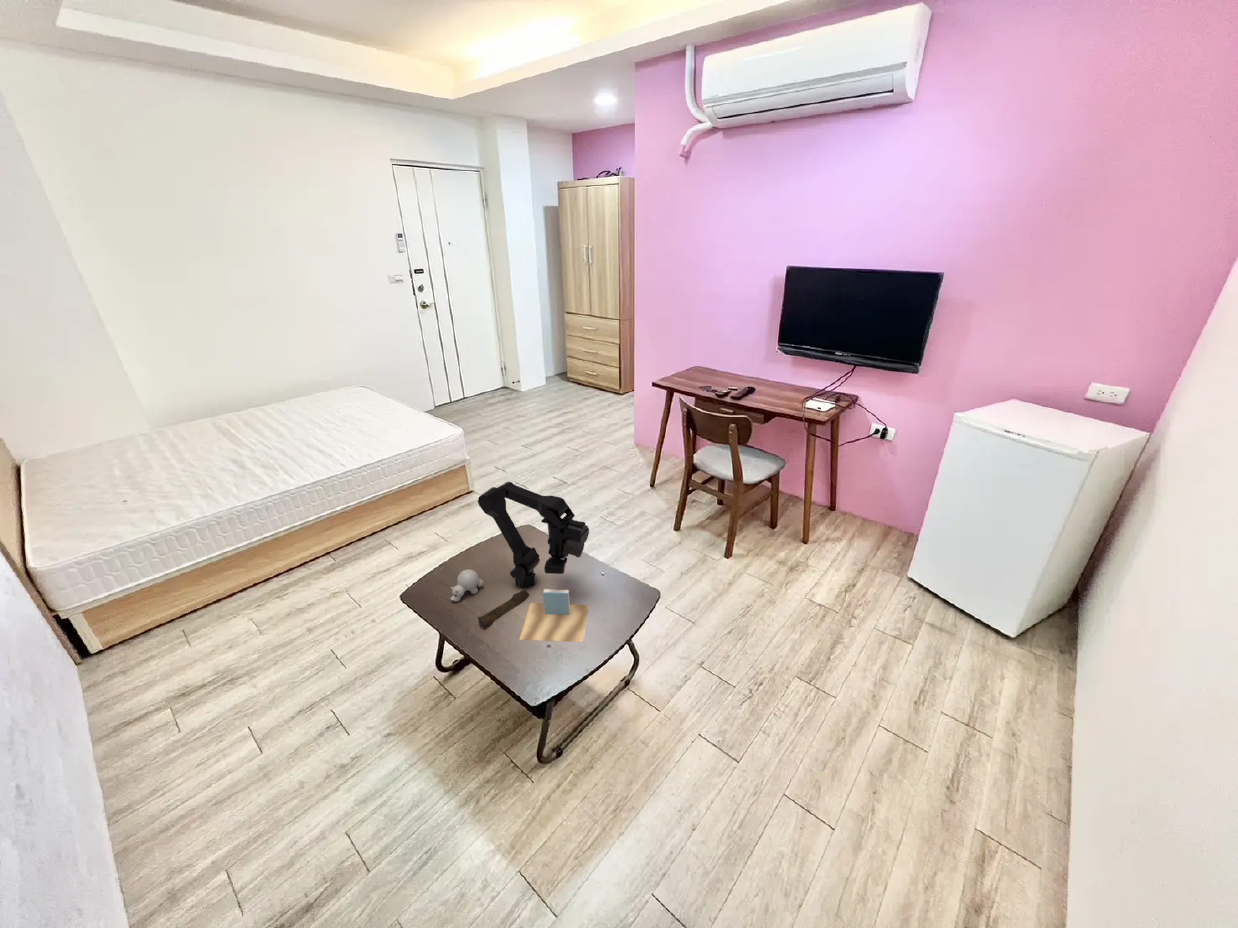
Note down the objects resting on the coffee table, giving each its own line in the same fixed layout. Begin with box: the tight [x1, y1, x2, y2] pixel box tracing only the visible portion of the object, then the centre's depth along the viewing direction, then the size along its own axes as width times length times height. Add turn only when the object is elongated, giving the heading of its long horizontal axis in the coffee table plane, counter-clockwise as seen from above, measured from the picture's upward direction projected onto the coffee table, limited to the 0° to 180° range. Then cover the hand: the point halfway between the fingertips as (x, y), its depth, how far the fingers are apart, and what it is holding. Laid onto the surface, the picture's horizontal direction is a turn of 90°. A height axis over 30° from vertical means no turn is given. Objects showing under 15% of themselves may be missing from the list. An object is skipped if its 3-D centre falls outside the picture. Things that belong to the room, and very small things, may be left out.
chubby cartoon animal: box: [449, 569, 485, 603], centre depth 165 cm, size 7×12×8 cm, turn 142°
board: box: [518, 602, 590, 643], centre depth 153 cm, size 20×16×1 cm
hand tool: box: [477, 589, 530, 630], centre depth 158 cm, size 19×4×5 cm, turn 134°
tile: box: [542, 588, 571, 615], centre depth 155 cm, size 8×2×9 cm, turn 87°
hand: (560, 572), depth 160 cm, fingers closed
